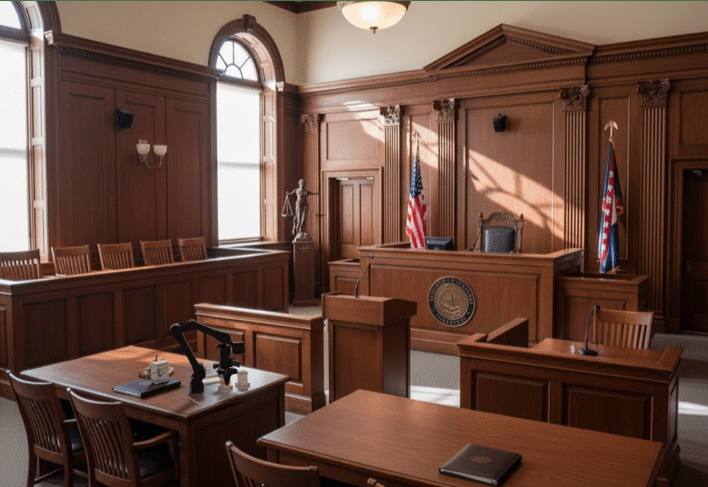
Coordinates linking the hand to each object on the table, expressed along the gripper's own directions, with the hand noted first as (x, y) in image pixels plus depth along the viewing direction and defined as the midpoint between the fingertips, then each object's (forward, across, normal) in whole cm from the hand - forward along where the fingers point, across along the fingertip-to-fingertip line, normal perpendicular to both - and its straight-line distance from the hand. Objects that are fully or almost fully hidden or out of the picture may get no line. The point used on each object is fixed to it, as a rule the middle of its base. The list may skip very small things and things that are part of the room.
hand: (225, 384), depth 349 cm
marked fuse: (+2, 0, 0) cm, 2 cm away
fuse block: (+4, 0, -5) cm, 6 cm away
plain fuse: (+2, 0, -10) cm, 10 cm away
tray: (+4, +22, -2) cm, 22 cm away
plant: (+4, +58, +16) cm, 60 cm away
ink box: (+4, +37, +22) cm, 43 cm away
